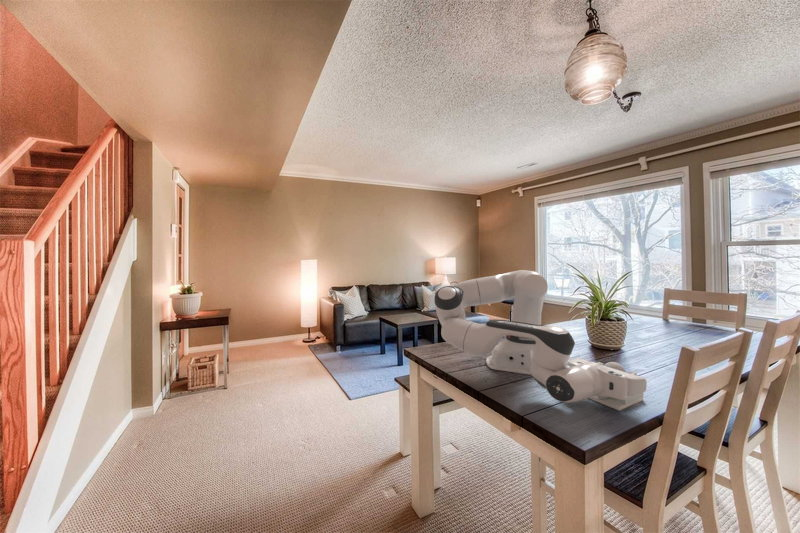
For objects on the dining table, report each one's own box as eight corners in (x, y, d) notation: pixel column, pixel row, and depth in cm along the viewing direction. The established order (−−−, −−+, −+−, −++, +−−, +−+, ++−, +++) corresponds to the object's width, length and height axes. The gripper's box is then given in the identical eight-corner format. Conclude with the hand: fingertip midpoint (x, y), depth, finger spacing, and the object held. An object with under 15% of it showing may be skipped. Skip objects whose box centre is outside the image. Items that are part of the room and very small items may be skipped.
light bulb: (599, 390, 98) (597, 360, 97) (616, 388, 98) (614, 358, 97) (613, 398, 92) (612, 367, 91) (631, 396, 92) (630, 364, 92)
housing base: (619, 410, 86) (619, 398, 86) (582, 395, 96) (582, 384, 96) (643, 400, 93) (643, 388, 93) (606, 386, 102) (606, 376, 102)
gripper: (558, 376, 98) (583, 368, 104) (630, 403, 80) (655, 392, 86) (559, 357, 98) (584, 351, 104) (631, 379, 80) (656, 370, 86)
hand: (617, 369), depth 95 cm, fingers open, 8 cm apart
